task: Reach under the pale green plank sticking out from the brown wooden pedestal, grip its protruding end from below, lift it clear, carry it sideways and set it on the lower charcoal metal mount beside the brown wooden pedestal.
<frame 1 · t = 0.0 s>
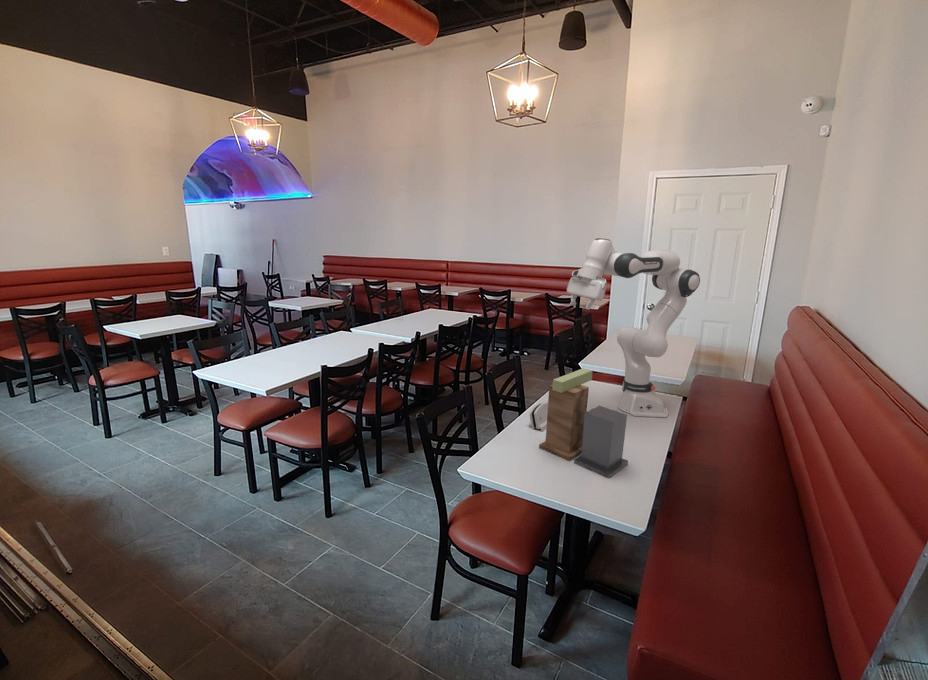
hand: (579, 307, 188), 52 cm above the table, tool tilted 20°, fingers open, 8 cm apart
brown wooden pedestal: (564, 448, 176), on the table
mount: (600, 463, 165), on the table
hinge: (543, 423, 199), on the table
pale green plank: (572, 384, 171), point 26 cm above the table, touching brown wooden pedestal
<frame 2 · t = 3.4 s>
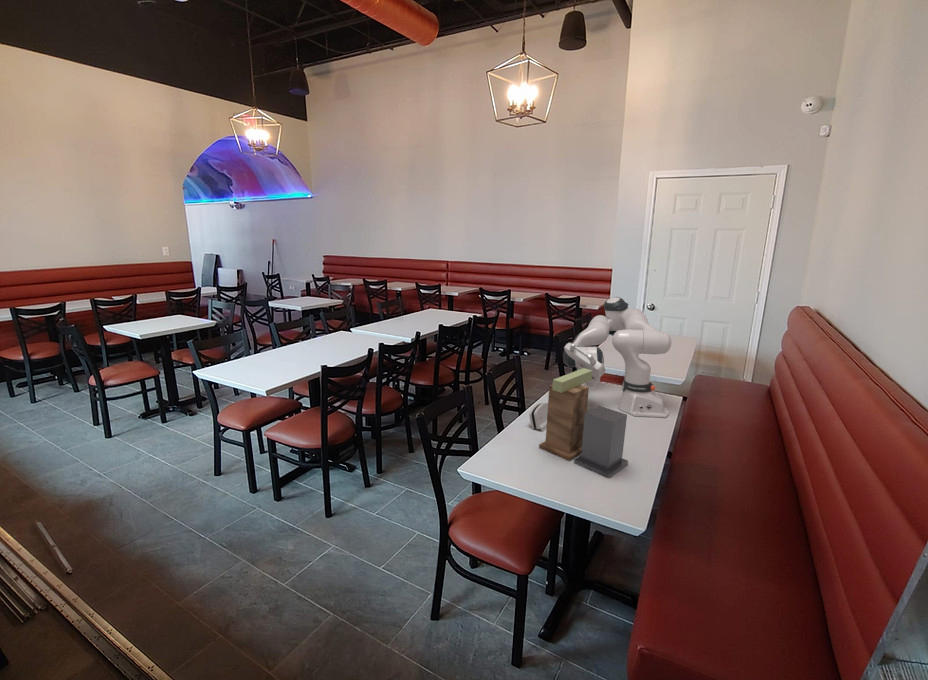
hand: (580, 350, 190), 34 cm above the table, tool pointing upward, fingers open, 8 cm apart
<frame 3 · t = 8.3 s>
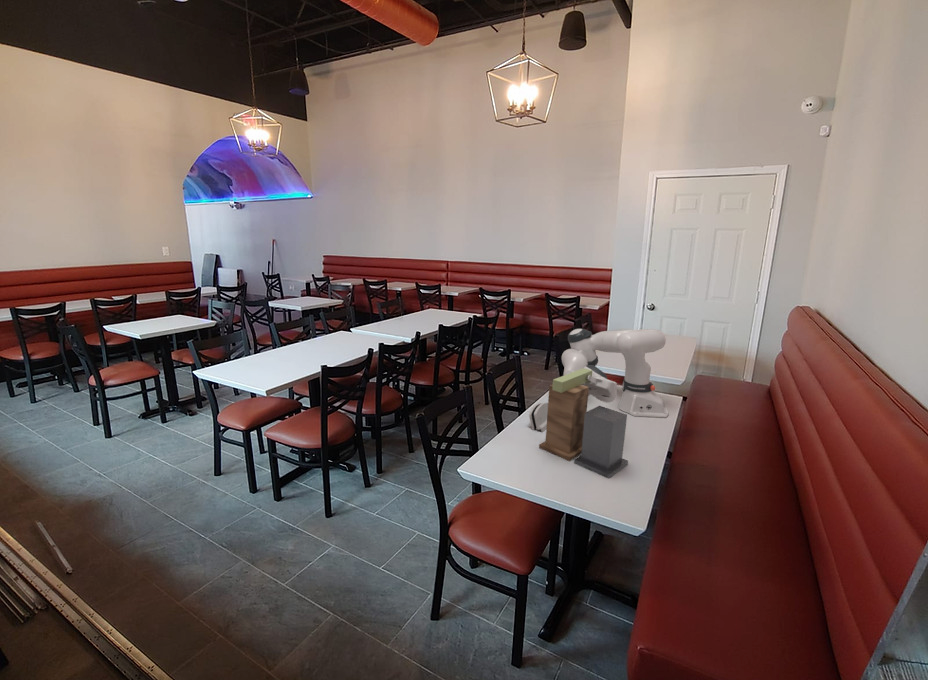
hand: (581, 375, 175), 28 cm above the table, tool pointing upward, fingers closed on pale green plank, 4 cm apart
pale green plank: (572, 384, 171), point 26 cm above the table, touching gripper, brown wooden pedestal
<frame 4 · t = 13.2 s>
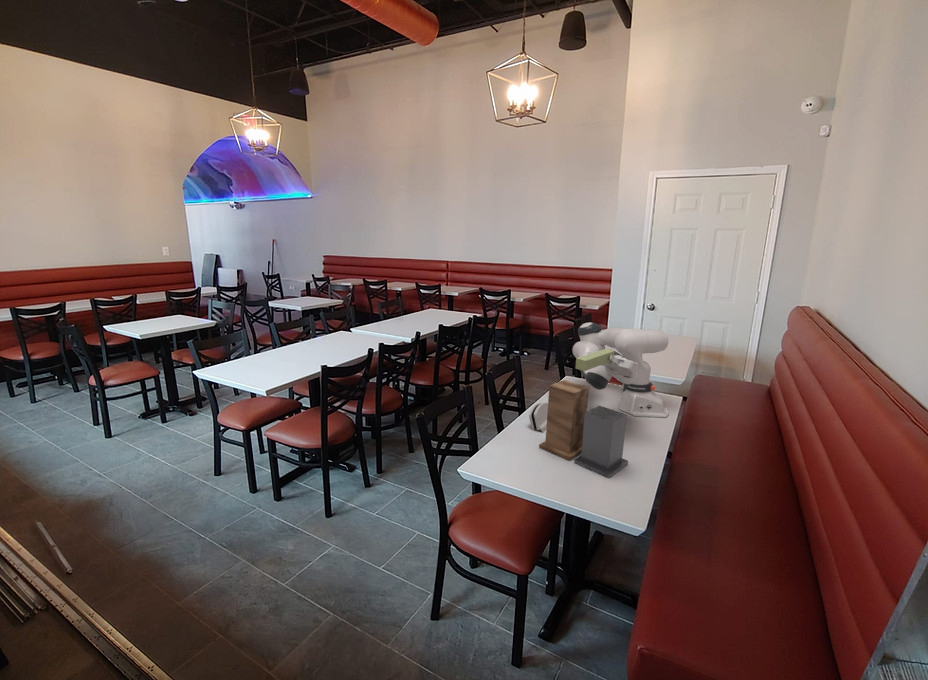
hand: (603, 355, 177), 35 cm above the table, tool pointing upward, fingers closed on pale green plank, 4 cm apart
pale green plank: (595, 364, 174), point 33 cm above the table, touching gripper
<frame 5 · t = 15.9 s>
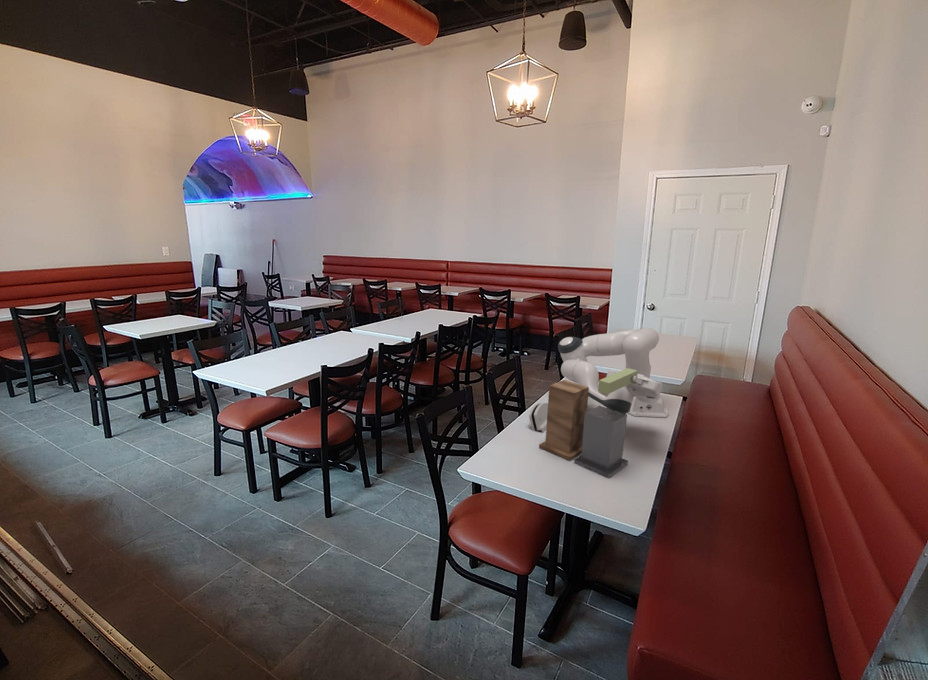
hand: (626, 375, 166), 31 cm above the table, tool pointing upward, fingers closed on pale green plank, 4 cm apart
pale green plank: (617, 385, 163), point 29 cm above the table, touching gripper
when the fingers open (24 cm above the table, at t = 18.4 s): pale green plank drops 1 cm, resting on mount.
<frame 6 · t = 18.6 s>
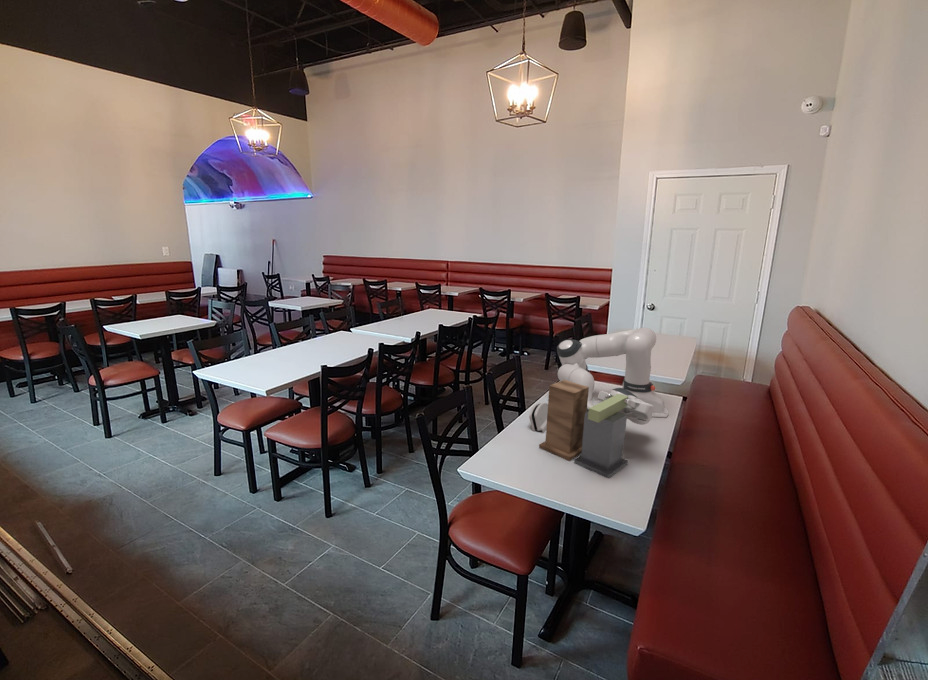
hand: (616, 398, 164), 24 cm above the table, tool pointing upward, fingers open, 6 cm apart
pale green plank: (608, 412, 161), point 20 cm above the table, touching mount
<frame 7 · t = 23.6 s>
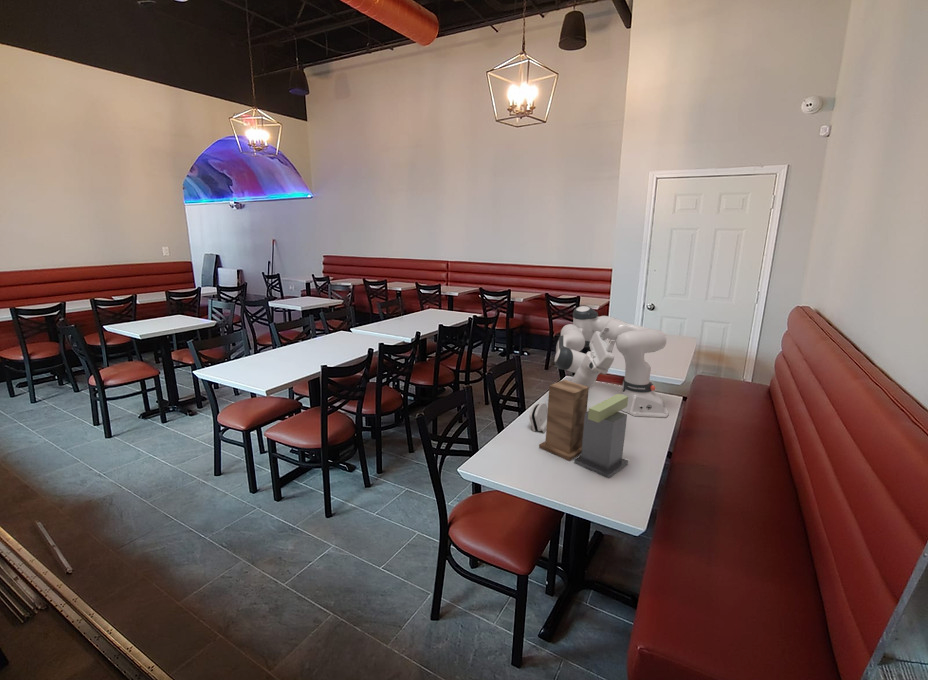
hand: (610, 333, 180), 43 cm above the table, tool pointing upward, fingers open, 8 cm apart
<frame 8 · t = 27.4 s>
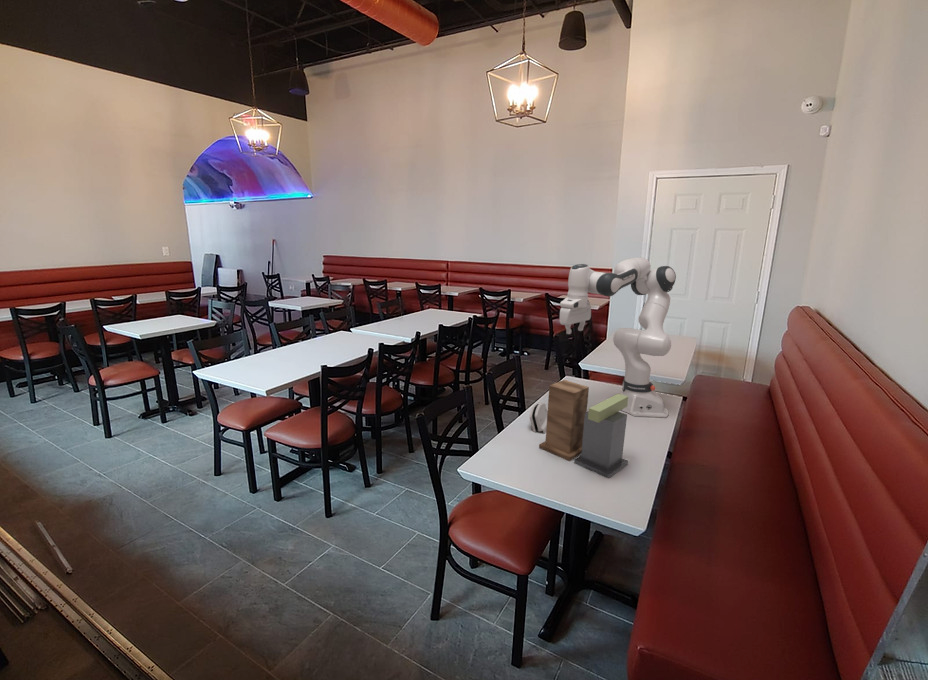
hand: (574, 332, 200), 39 cm above the table, tool pointing down, fingers open, 8 cm apart
at the end: pale green plank inside the target area on the mount (0.1 cm from its centre), point 20.0 cm above the mount's base; pale green plank touching mount; pale green plank tilted 0° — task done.
